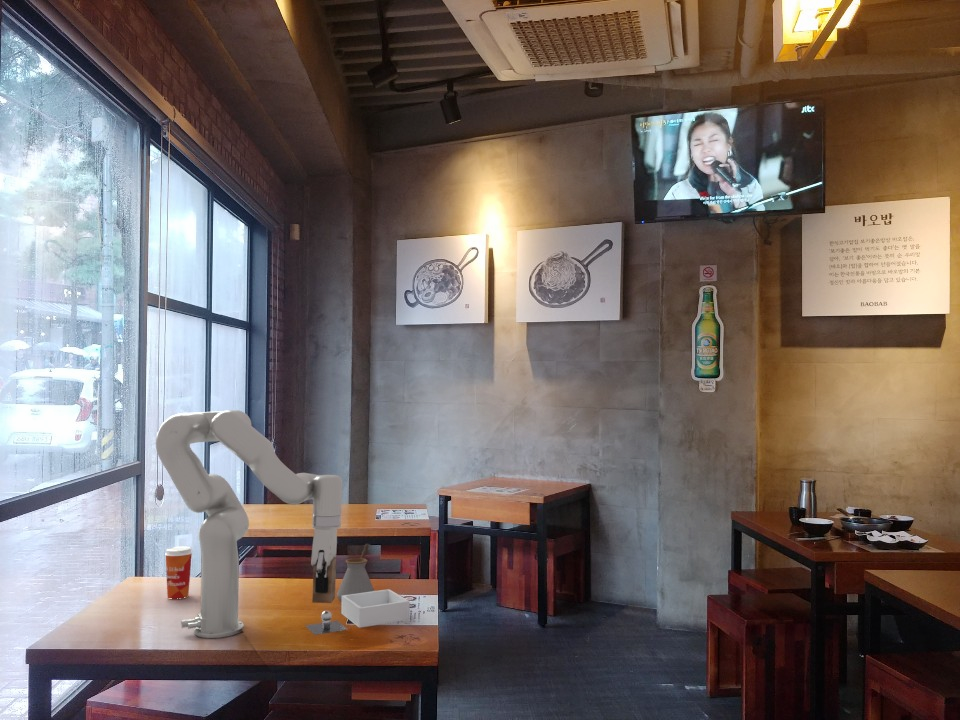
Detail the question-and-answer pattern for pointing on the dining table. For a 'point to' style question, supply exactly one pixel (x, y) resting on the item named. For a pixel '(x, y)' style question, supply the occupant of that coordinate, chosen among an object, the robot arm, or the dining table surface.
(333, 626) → the stud plate
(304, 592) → the dining table surface
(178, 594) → the coffee cup
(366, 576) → the coffee pot
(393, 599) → the grey bin
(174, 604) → the dining table surface
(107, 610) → the dining table surface
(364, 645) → the dining table surface
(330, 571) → the walnut post
